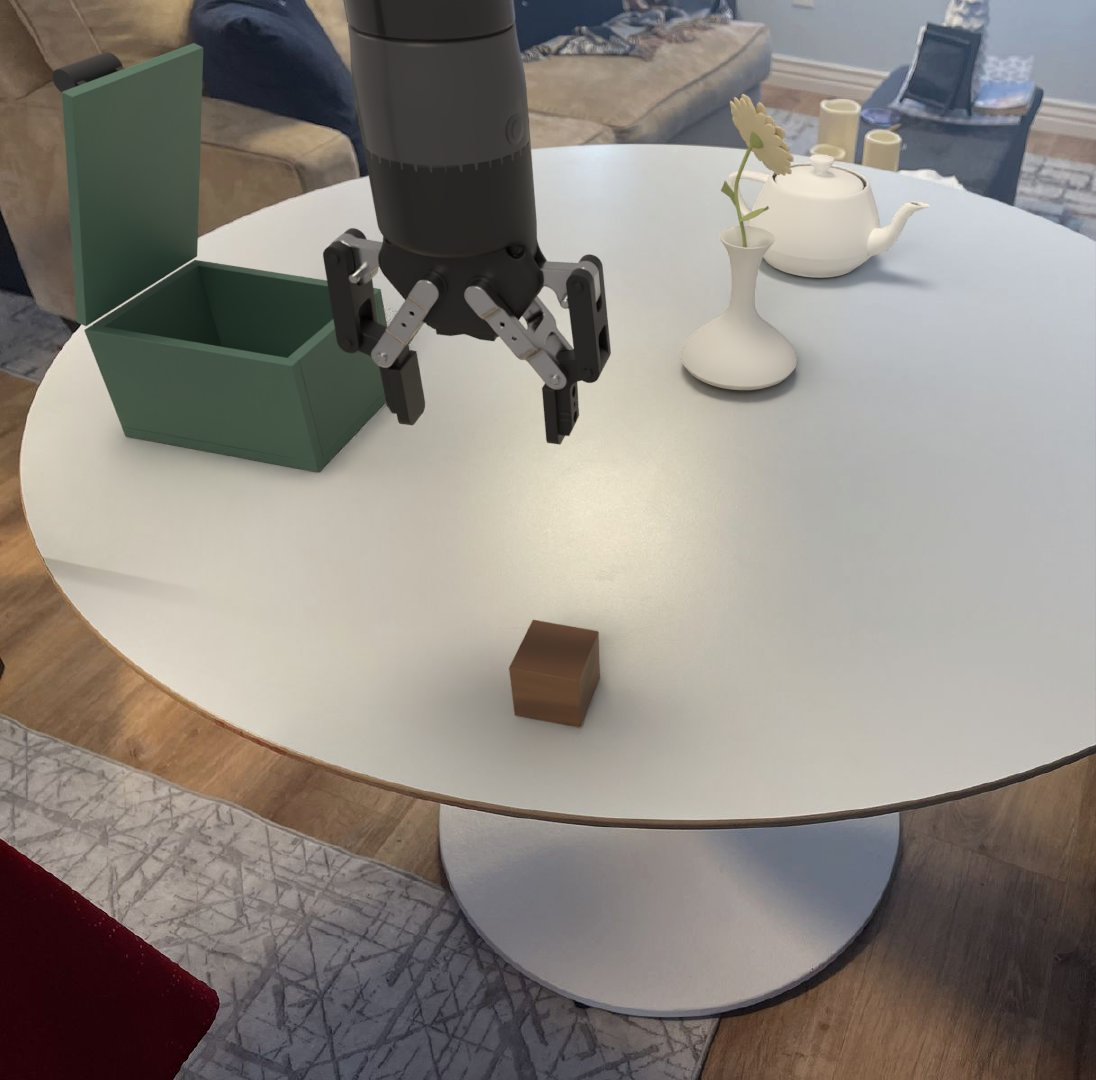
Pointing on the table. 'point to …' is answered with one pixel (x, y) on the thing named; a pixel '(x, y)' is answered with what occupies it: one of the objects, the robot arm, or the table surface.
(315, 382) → the box
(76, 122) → the lid
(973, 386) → the table surface
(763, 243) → the flower in vase
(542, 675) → the block
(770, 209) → the teapot
